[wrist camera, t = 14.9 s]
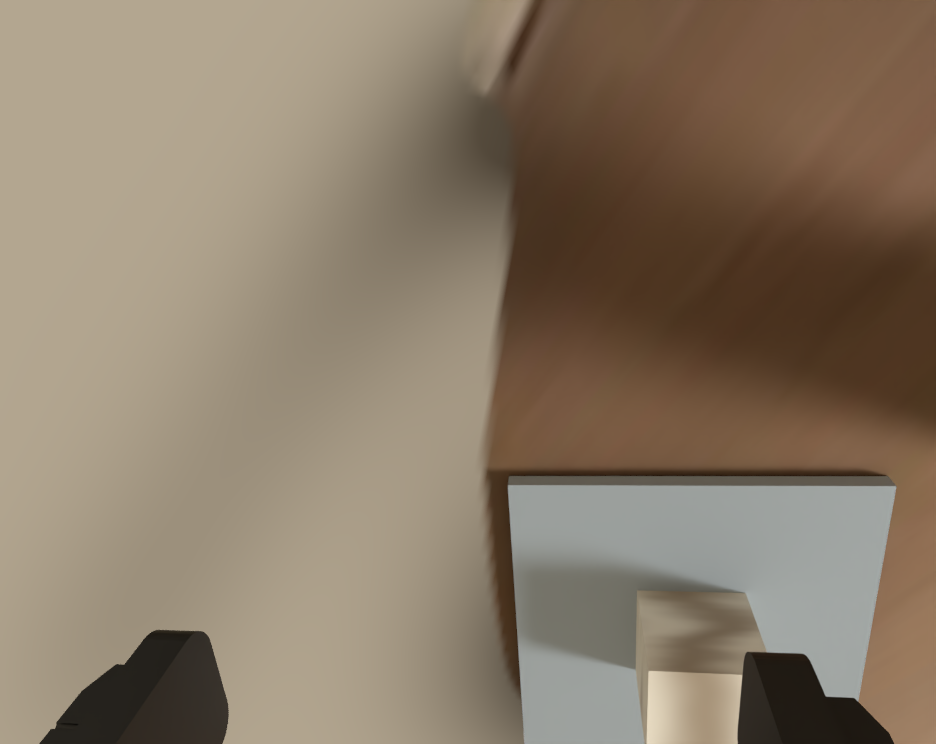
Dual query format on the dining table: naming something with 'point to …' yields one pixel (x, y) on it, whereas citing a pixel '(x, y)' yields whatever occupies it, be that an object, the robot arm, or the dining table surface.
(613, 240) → the dining table surface
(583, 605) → the slate board
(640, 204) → the dining table surface
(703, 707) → the maple block
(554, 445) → the dining table surface
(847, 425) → the dining table surface
